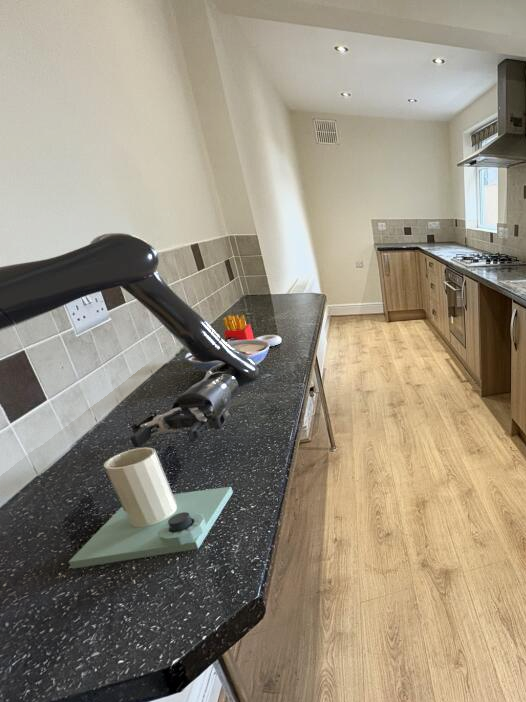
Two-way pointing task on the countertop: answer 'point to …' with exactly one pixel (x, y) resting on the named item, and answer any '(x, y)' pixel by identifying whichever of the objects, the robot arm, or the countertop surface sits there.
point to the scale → (154, 531)
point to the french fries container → (237, 328)
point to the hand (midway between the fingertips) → (163, 439)
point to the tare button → (180, 522)
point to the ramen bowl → (248, 347)
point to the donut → (270, 339)
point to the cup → (141, 486)
